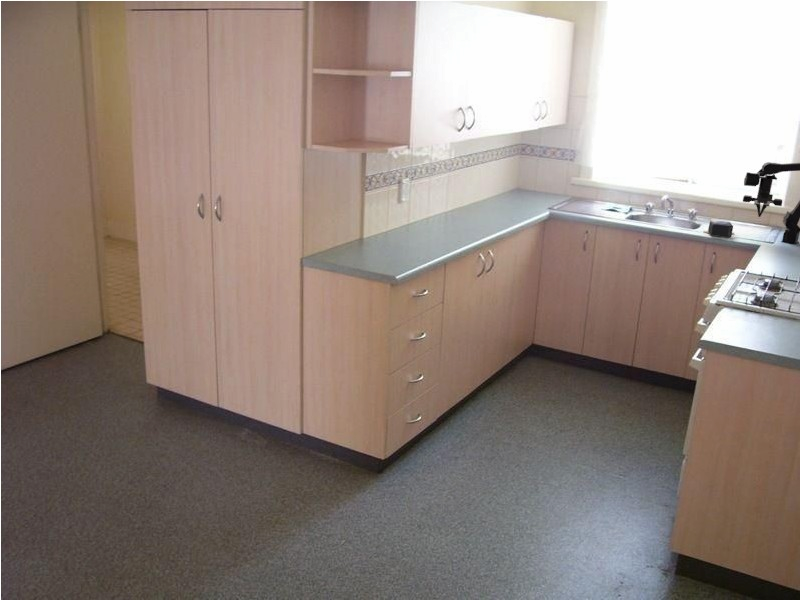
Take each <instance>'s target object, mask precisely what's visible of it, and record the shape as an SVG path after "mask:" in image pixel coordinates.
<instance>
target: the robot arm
mask: <svg viewBox="0 0 800 600" xmlns="http://www.w3.org/2000/svg"><path fill="white" fill-rule="evenodd" d="M797 171H798V172H800V162H793V163H792V162H791V163H790V162H789V163H777V162H765V163H764V164H763V165H762V166H761V169H759V170H758V171H757V172H756V173H754V172H746V175H745V177H744V180H743V186H747V187H757V186H758V185H759V186H758V191H757V195H756V197H753V196H752V195H747V194H745V195H744V196H743V197H742V203H751V202H754V203H753V205H755V206H756V208H757V209H756V210H757V214H758V215H757V216H758V217H759V218H761V216H762V215H763V213H764V211H765V210H766V208H767V207H770V204H773V205H774V206H779V207H782V205H783V199H781V198H774V199H773V197H774V196H773V195H774V194H771V190H772V185H773V181H774V180H776V181H777V180H778V178H777V176H776V175H775V174H779V173H782V172H784V173H785V172H797ZM761 204H762V206H761ZM782 218H783V219H782V223H783V225H784V226H785V230H784V232H783V235H782V239H781V243H786V244H787V243H788V244H791V245H796V244H799V243H800V241H799V238H800V237H799V236H800V226H799V222H800V200H798V202H797V204H796V205H795V206H794V208H793V209H792V210H791V211H789V210H787V212H786V214H785V215H784V216H783V217H782Z"/></svg>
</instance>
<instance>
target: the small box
mask: <svg viewBox="0 0 800 600" xmlns="http://www.w3.org/2000/svg"><path fill="white" fill-rule="evenodd" d="M733 230H734V225H733V224H732V223H731V222H730V221H722V220H721V221H719V220H709V223H708V228H707V231H708V232H709V233H710V234H709V235H710V236H713V237H715V236H716V237H722V236H723V237H727V238H732V235H733V234H732V232H733Z"/></svg>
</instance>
